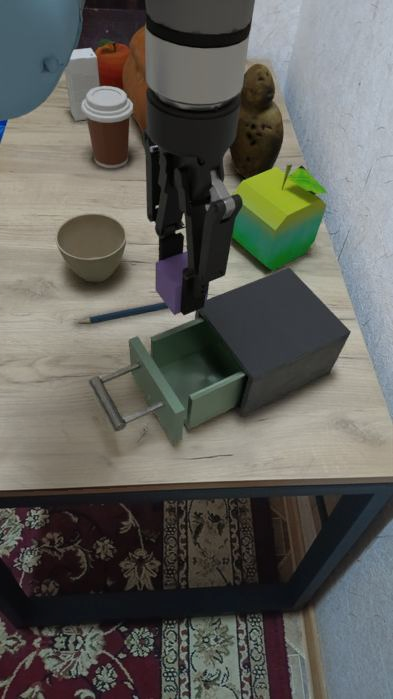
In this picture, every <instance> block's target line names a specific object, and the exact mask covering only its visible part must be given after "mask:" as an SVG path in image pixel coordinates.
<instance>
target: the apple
mask: <svg viewBox="0 0 393 699" xmlns="http://www.w3.org/2000/svg"><path fill="white" fill-rule="evenodd" d="M292 167H293V164H287V165H286V168H285V171H283V170H282V169H281V168H279V167H278V166H275V167H272V169H270V170H267V171H265V172H263V173H260V174H258V175H255V176H253V177H251V178H248V179H247V178H245V179H243V180H242V181H241V182H240V184H239V185H238V186H237V187H236V189H235V190H234V192H232V194H231V196H232V195H235V194H239V195H240V196H241V198H242V202H243V205H242V208H241V209H240V211H239V213H238V215H237V216H236V218H235V223H234V229H233V234H232V239H234V240H235V241H236V242H237V243H238V244H240V245H241V246H242V247H243V248H244V249H245V250H246V251H247V252H249V253H250V254H251V255H252V256H253V257H254V258H256V259H257V260H258V261H259V262H260V263H262V265H263V266H265V267H266V268H267V269H269V270H271V271H275V270H277V269H280V268H281V267H283V266H285V265H286V264H289V263H291V262H292V261H294V260H296V259H298V258H300V257H302V256H303V255H305V254H306V252H308V250H309V249H310V248H311V247H312V246H313V245H314V243H315V241H316V238H317V236H318V233H319V230H320V227H321V224H322V221H323V218H324V216H325V211H326V208H327V204H326V203H325V202H324V200H323V199H322V198H320V196H318V195H322V194H328V193H329V192H328V191H327V190H326V189H325V188H324V187H323V186H322V184H320V183H319V181H318V180H317V179H316V178H315V177H314V176H313V175H312V174H311V173H310V172H309V171H308V170H307V169H306V168H305V167H304V166H303V165H302V164H301V165H300V166H299V167H298V168H297V169H295V170H293V172H291V169H292ZM290 172H291V173H290Z"/></svg>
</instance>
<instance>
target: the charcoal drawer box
mask: <svg viewBox="0 0 393 699" xmlns="http://www.w3.org/2000/svg"><path fill="white" fill-rule="evenodd" d="M194 313H195V314H194V319H197V318H199V317H202V316H203V318H204V319H205V320H206V322H207V323H208V324H209V326H210V327H211V328H212V330H213V331H214V332H215V334H216V335H217V336H218V337H219V339H220V340H221V341H222V343H223V344H224V345H225V347H226V348H227V349H228V351H229V352H230V353H231V355H232V356H233V357H234V359H235V360H236V361H237V362H238V364H239V365H240V366H241V368H242V369H243V370H244V372H245V373H246V374H247V376H248V381H247V385H246V388H245V392H244V395H243V399H242V403H241V404H239V405H237V406H235V407H233V409H235V411H236V413H237V414H238V415H239V417H240V418H242V419H243V418H245V417H247V416H249V415H252V414H254V412H257V411H259V410H261V409H263V408H264V407H267V406H269V405H271V404H272V403H275V402H277V401H278V400H280V399H283V398H284V397H287V396H289V395H291V394H292V393H295V392H297V391H299V390H300V389H303V388H304V387H307V386H309V385H310V384H312V383H314V382H316V381H319V380H320V379H322V378H324V377H327V376H328V375H330V374H331V372H332V370H333V368H334V366H335V364H336V362H337V360H338V358H339V357H340V355H341V353H342V350H343V348H344V347H345V345H346V343H347V341H348V338H349V337H350V335H351V333H352V331H351V330H350V329H349V328H348V327H347V326H346V325H345V324H344V323H343V322H342V321H341V319H339V318H338V317H337V315H335V313H334V312H333V311H332V310H331V309H330V308H329V307H328V306H327V305H326V304H325V303H324V302H323V301H322V300H321V299H320V297H318V296H317V295H316V294H315V293H314V292H313V290H312V289H311V288H310V287H309V286H308V285H307V284H306V283H305V282H304V281H303V279H301V278H300V277H299V276H298V275H297V274H296V273H295V272H294V271H293V269H291V268H290V267H287V268H285V269H284V268H283V269H282V270H279V271H277V272H274V273H271V274H269V275H266V276H263V277H262V278H259V279H256V280H254V281H250V282H249V283H246V284H243V285H240V286H238V287H235V288H233V289H230V290H228V291H226V292H225V291H224V292H223V293H220V294H218V295H215V296H213V297H211V298H207V302H205V303H204V307H203V308H201V309H199V310H196V311H194Z"/></svg>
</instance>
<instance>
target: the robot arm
mask: <svg viewBox="0 0 393 699" xmlns="http://www.w3.org/2000/svg"><path fill="white" fill-rule="evenodd" d="M86 1H87V0H0V122H4V121H8V120H14V119H18V118H21V117H23V116H25V115H28V114H29V113H31V112H33V111H34V110H36V109H38V108H39V107H40V106H41V105H43V103H45V102H46V101H47V100H48V98H49V97H50V96H51V94H53V92H54V91H55V89H56V87H57V86H58V83H59V81H60V80H61V78H62V75H63V73H64V72H65V71H64V69H65V67H66V66H67V65H68V63H69V60H70V58H71V55H72V52H73V50H76V49H77V47H78V46H79V42H80V38H81V34H82V28H83V19H84V18H83V11H84V8H85V4H86ZM144 2H145V12H144V14H145V23H144V26H145V63H146V82H147V84H148V86H149V87H148V88H147V91H146V126H147V130H144V131H143V132H141V136H142V142H143V148H144V155H145V187H146V188H145V190H146V193H145V194H146V196H145V198H146V217H147V220H148V221H149V222H150V223H153V222H154V224H155V225H154V232H155V234H156V235H157V236H158V261H161V260H164V259H167V258H170V257H172V256H175V255H178V254H181V253H183V252H184V247H185V246H184V245H185V244H184V242H186V251H187V257H188V267H187V268H184V269H183V271H182V274H183V278H182V294H181V309H180V314H182V315H183V316H186V315H188V314H191V313H195V312H196V310H199V309H201V308H203V307H204V303H205V295H206V294H207V292H208V293H209V289H208V287H210V283H211V282H213V281H215V280H219V279H220V278H222V277H225V276H226V272H227V266H228V261H229V257H230V252H231V245H232V239H233V237H232V234H233V229H234V223H235V218H236V216H237V215H238V213H239V211H240V209H241V208H242V205H243V202H242V198H241V196H240V195H239V194H235V195H232V194H230V193H229V191H228V189H227V188H226V186H225V184H224V180H225V169H224V157H225V155H226V153H227V152H228V150H230V149H229V147H230V146H231V145H232V144H233V142H234V140H235V138H236V133H237V126H238V119H239V112H240V105H241V97H240V94H239V92H240V91H241V89H242V87H243V80H244V74H245V73H246V64H247V56H248V49H249V42H250V41H249V40H250V35H251V29H252V23H253V17H254V16H253V15H254V10H255V3H256V0H144ZM157 206H158V207H157ZM183 216H184V217H183ZM183 218H184V222H183ZM183 229H185V235H184V234H183V233H182V231H180V230H183ZM177 231H180V232H177ZM176 232H177V233H176ZM185 240H186V241H185ZM208 285H209V286H208Z"/></svg>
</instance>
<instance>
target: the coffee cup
mask: <svg viewBox="0 0 393 699" xmlns="http://www.w3.org/2000/svg"><path fill="white" fill-rule="evenodd" d="M81 111H82V112H83V114H84V116H86V118H87V119H86V122H87V127H88V133H89V138H90V142H91V148H92V153H93V158H94V162H95V163H96V165H98V166H99V167H102V168H106V169H117V168H121V167H123V166H125V165H126V164H127V162H129V141H130V140H129V138H130V117H131V116H133V103H132V102H131V101H130V99H128V98H127V95H126V93H125V92H124V89H123V90H121V89H119V88H116V87H112V86H102V85H100V87H96V88H93V89H91V90H90V91H89V92H88V93H87V95H86V99H84V100H83V101H82V105H81Z"/></svg>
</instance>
